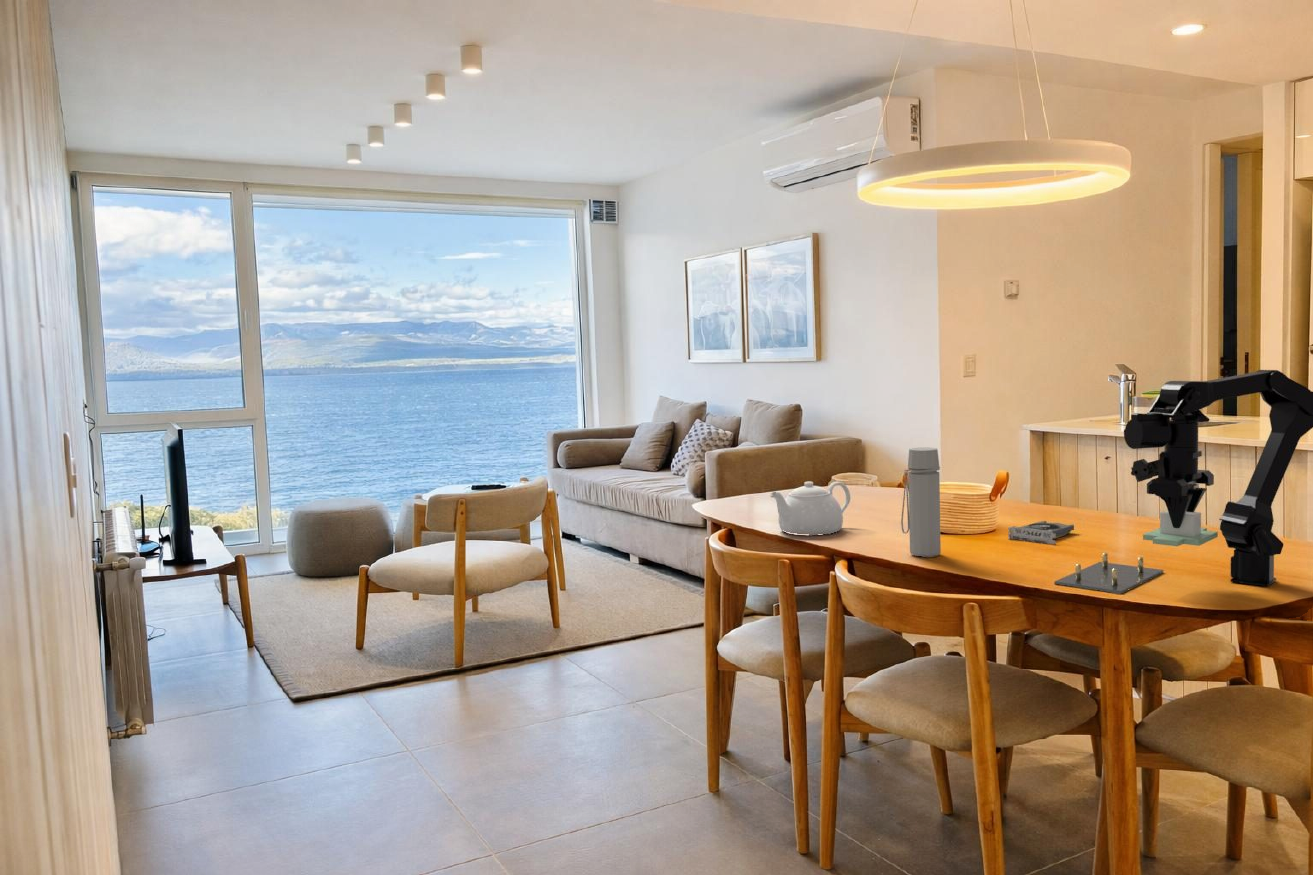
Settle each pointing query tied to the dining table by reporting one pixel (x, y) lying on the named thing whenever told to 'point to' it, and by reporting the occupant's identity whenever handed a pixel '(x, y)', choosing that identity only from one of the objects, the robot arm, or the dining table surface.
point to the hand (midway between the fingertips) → (1180, 526)
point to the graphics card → (1040, 532)
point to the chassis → (1109, 576)
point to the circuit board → (1179, 538)
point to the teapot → (811, 509)
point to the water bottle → (923, 502)
